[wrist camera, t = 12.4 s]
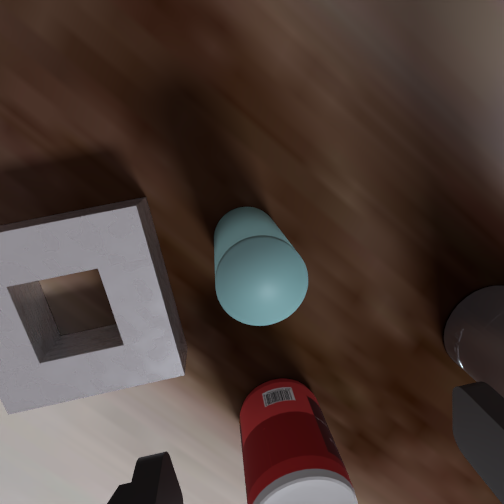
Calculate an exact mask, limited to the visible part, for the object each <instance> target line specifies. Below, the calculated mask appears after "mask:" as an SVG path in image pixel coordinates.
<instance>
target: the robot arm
mask: <svg viewBox="0 0 504 504" xmlns="http://www.w3.org/2000/svg"><path fill="white" fill-rule="evenodd" d="M444 345H445V348H446V351H447V353H448V355H449V356H450V357H451V359H452V360H453V361H454V362H456V363H457V364H458V365H459V366H460V367H461V368H462V369H463V370H464V371H466V372H467V373H468V374H469V375H470V376H471V377H472V378H473V379H474V380H476V381H477V382H476V383H471V384H467V385H463V386H458V387H455V388H454V389H453V394H452V396H453V434H454V437H455V440H456V443H457V445H458V447H459V449H460V451H461V452H462V454H463V455H464V456H465V458H466V459H467V460H468V461H469V463H470V464H471V465H472V466H473V468H474V469H475V470H476V471H477V473H478V474H479V475H480V476H481V478H482V479H483V480H484V481H485V483H486V484H487V485H488V486H489V488H490V489H491V490H492V491H493V493H494V494H495V495H496V496H497V498H498V499H499V500H500V501H501V503H502V504H504V286H490V287H485V288H483V289H480V290H478V291H475V292H474V293H472V294H471V295H469V296H467V297H466V298H465V299H464V300H463V301H462V302H460V303H459V304H458V305H457V307H456V308H455V309H454V310H453V312H452V313H451V315H450V317H449V319H448V321H447V324H446V327H445V330H444ZM107 504H183V497H182V492H181V489H180V486H179V483H178V480H177V477H176V474H175V471H174V468H173V464H172V461H171V458H170V456H169V454H168V452H163V453H158V454H154V455H149V456H145V457H141V458H139V459H138V460H137V462H136V466H135V470H134V474H133V478H132V482H131V483H127V484H122V485H119V486H118V488H117V489H116V491H115V493H114V494H113V496H112V497H111V499H110V500H109V502H108V503H107Z"/></svg>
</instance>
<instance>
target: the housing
mask: <svg viewBox="0 0 504 504" xmlns="http://www.w3.org/2000/svg"><path fill="white" fill-rule="evenodd" d="M97 268H98V270H99V273H100V276H101V279H102V282H103V285H104V288H105V291H106V294H107V297H108V300H109V303H110V306H111V309H112V312H113V314H114V317H115V320H116V323H117V324H114V325H109V326H105V327H100V328H95V329H91V330H86V331H81V332H77V333H72V334H67V335H63V336H60V333H59V331H58V328H57V326H56V323H55V321H54V318H53V316H52V313H51V311H50V308H49V306H48V303H47V301H46V298H45V296H44V293H43V291H42V288H41V286H40V283H39V281H38V280H43V279H48V278H53V277H58V276H63V275H68V274H72V273H77V272H82V271H87V270H92V269H97ZM186 357H187V344H186V340H185V337H184V333H183V329H182V326H181V322H180V318H179V315H178V311H177V307H176V304H175V300H174V297H173V293H172V289H171V286H170V282H169V278H168V275H167V271H166V267H165V264H164V260H163V256H162V253H161V249H160V246H159V242H158V238H157V235H156V231H155V227H154V224H153V220H152V216H151V213H150V209H149V205H148V202H147V198H146V197H143V198H138V199H133V200H128V201H123V202H118V203H112V204H107V205H102V206H97V207H92V208H87V209H82V210H77V211H72V212H66V213H61V214H56V215H51V216H46V217H41V218H36V219H31V220H26V221H20V222H15V223H10V224H5V225H0V399H1V401H2V403H3V405H4V407H5V409H6V411H7V413H8V414H13V413H17V412H22V411H26V410H31V409H35V408H40V407H44V406H49V405H53V404H58V403H62V402H66V401H71V400H75V399H80V398H84V397H89V396H93V395H98V394H102V393H107V392H111V391H116V390H120V389H125V388H129V387H134V386H138V385H143V384H147V383H152V382H156V381H160V380H165V379H169V378H174V377H178V376H183V375H185V367H186Z"/></svg>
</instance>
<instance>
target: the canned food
mask: <svg viewBox="0 0 504 504" xmlns="http://www.w3.org/2000/svg"><path fill="white" fill-rule="evenodd" d="M239 423H240V433H241V443H242V453H243V463H244V473H245V484H246V494H247V504H358V502H357V499H356V495H355V492H354V488H353V486H352V483H351V481H350V479H349V476H348V473H347V471H346V468H345V466H344V464H343V461H342V459H341V456H340V454H339V452H338V449H337V447H336V444H335V442H334V440H333V437H332V435H331V433H330V430H329V428H328V425H327V423H326V421H325V418H324V416H323V414H322V411H321V409H320V406H319V404H318V402H317V399H316V398H315V396H314V394H313V393H312V392H311V391H310V390H309V389H308V388H307V387H306V386H305V385H303V384H302V383H300V382H298V381H295V380H292V379H275V380H270V381H268V382H265V383H263V384H261V385H259V386H257V387H256V388H255V389H254V390H252V391H251V392H250V394H249V395H248V396H247V397H246V399H245V400H244V402H243V405H242V408H241V412H240V417H239Z"/></svg>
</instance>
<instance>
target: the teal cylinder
mask: <svg viewBox="0 0 504 504" xmlns="http://www.w3.org/2000/svg"><path fill="white" fill-rule="evenodd" d="M214 256H215V286H216V294H217V297H218V300H219V302H220V304H221V306H222V307H223V309H224V310H225V311H226V312H227V313H228V314H229V315H230V316H231V317H233V318H234V319H236V320H238V321H240V322H242V323H245V324H248V325H254V326H265V325H271V324H274V323H277V322H280V321H282V320H284V319H285V318H287V317H288V316H290V315H291V314H292V313H293V312H294V311H295V310H296V309H297V308H298V307H299V306H300V304H301V303H302V301H303V299H304V297H305V294H306V292H307V287H308V273H307V269H306V266H305V263H304V261H303V260H302V258H301V257H300V255H299V254H298V253H297V251H296V250H295V249H294V247H293V246H292V245H291V244H290V242H289V241H288V240H287V238H286V237H285V236H284V234H283V233H282V232H281V230H280V229H279V228H278V227H277V225H276V224H275V223H274V221H273V220H272V219H271V217H270V216H269V215H268V214H266V213H265V212H264V211H262V210H260V209H257V208H254V207H239V208H236V209H233V210H231V211H229V212H228V213H226V214H225V215H224V216H223V217H222V218H221V219H220V221H219V222H218V224H217V226H216V229H215V232H214Z"/></svg>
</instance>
